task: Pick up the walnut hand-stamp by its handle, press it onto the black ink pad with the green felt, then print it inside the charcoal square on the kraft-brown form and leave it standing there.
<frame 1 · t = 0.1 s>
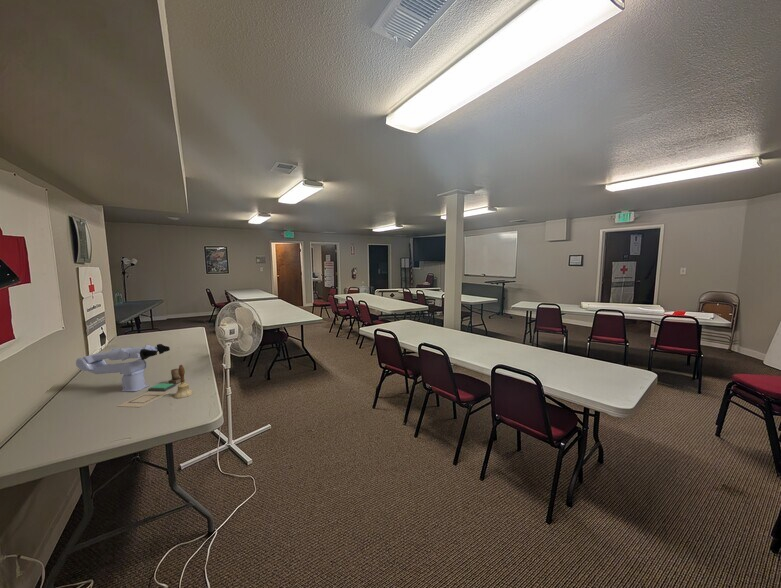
hand: (162, 350, 159), 22 cm above the table, tool horizontal, fingers open, 7 cm apart
ink pad: (162, 388, 162), on the table
hand bell: (184, 395, 153), on the table
stamp: (176, 382, 170), on the table
form: (144, 399, 149), on the table
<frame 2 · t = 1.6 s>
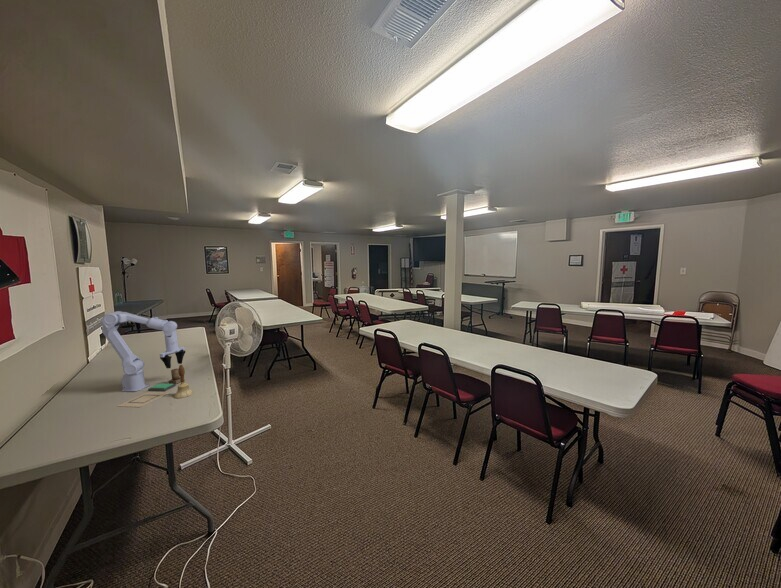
hand: (174, 365, 169), 10 cm above the table, tool pointing down, fingers open, 7 cm apart
nothing on the table moved.
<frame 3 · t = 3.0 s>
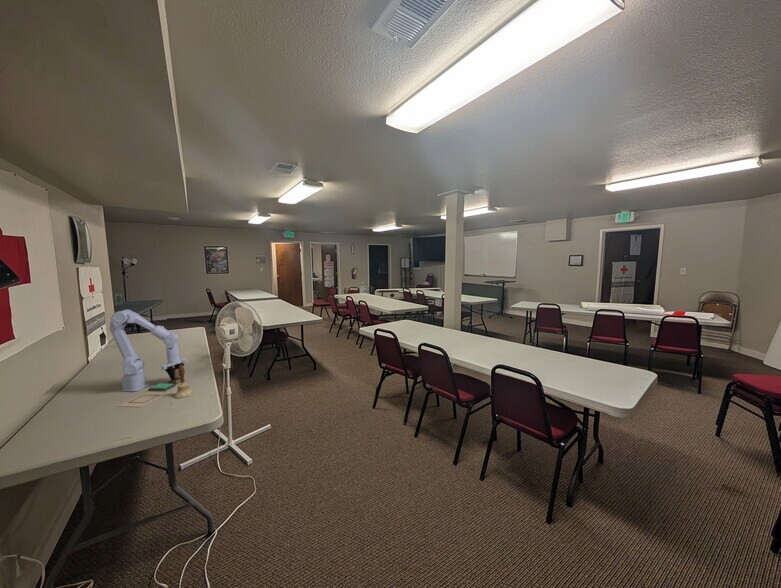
hand: (175, 377, 170), 3 cm above the table, tool pointing down, fingers closed on stamp, 4 cm apart
stamp: (176, 382, 170), on the table, touching gripper
everything else where it was.
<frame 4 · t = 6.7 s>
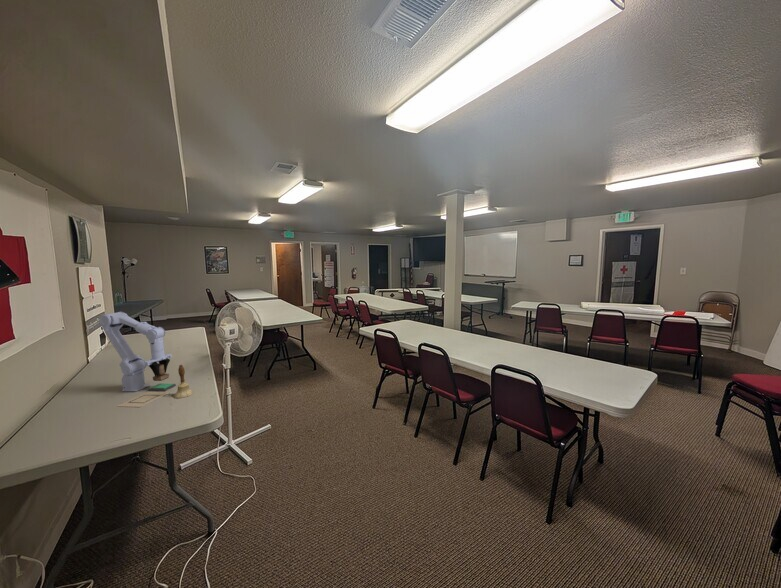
hand: (160, 374, 162), 8 cm above the table, tool pointing down, fingers closed on stamp, 4 cm apart
stamp: (161, 379, 162), point 5 cm above the table, touching gripper
everything else where it was.
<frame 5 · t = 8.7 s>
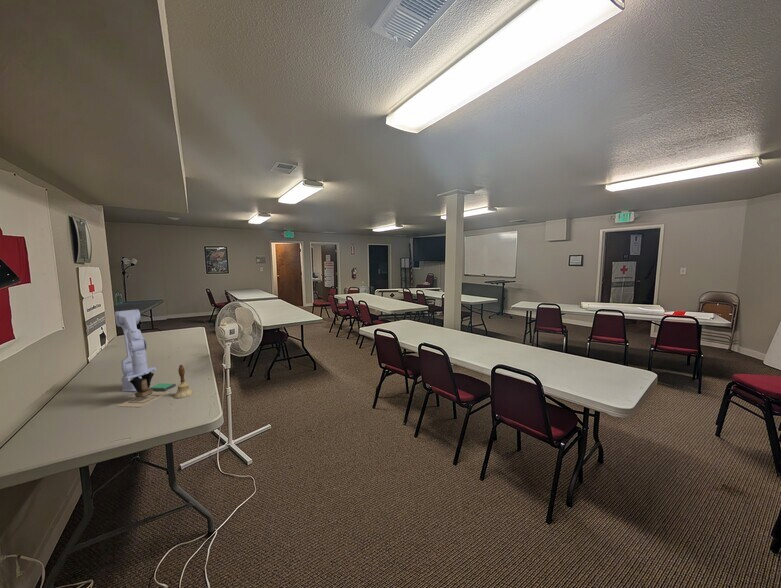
hand: (143, 389, 149), 5 cm above the table, tool pointing down, fingers closed on stamp, 4 cm apart
stamp: (144, 395, 149), point 2 cm above the table, touching gripper
everything else where it was.
when the fingers open (4 cm above the table, at t = 10.4 s): stamp stays where it is, resting on form.
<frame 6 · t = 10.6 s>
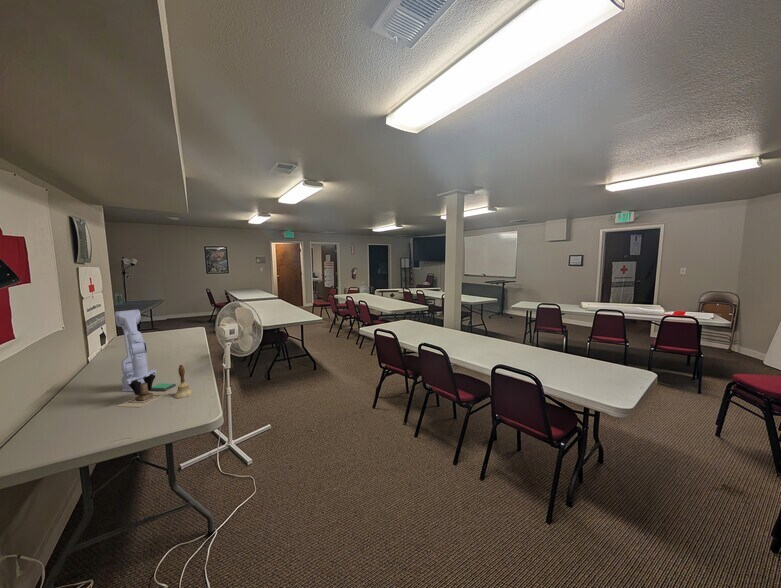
hand: (143, 392, 149), 4 cm above the table, tool pointing down, fingers open, 5 cm apart
stamp: (144, 398, 149), resting on form
everything else where it was.
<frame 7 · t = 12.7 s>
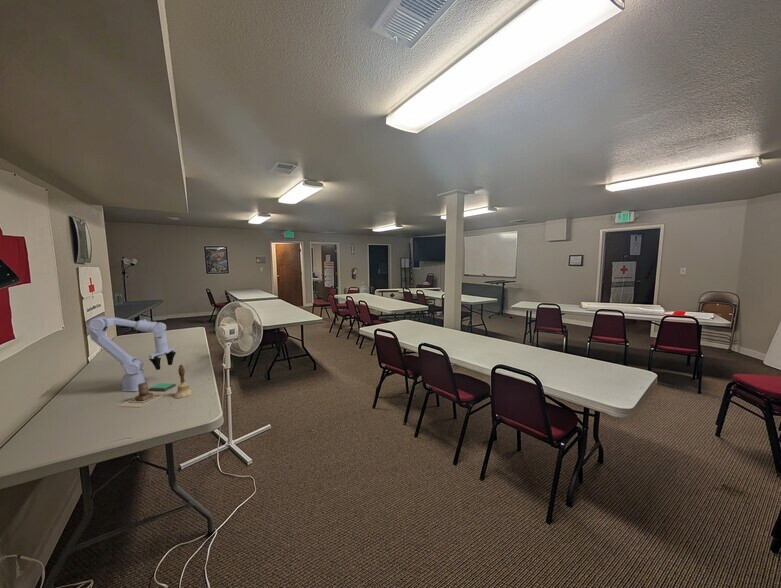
hand: (164, 367, 169), 10 cm above the table, tool pointing down, fingers open, 7 cm apart
nothing on the table moved.
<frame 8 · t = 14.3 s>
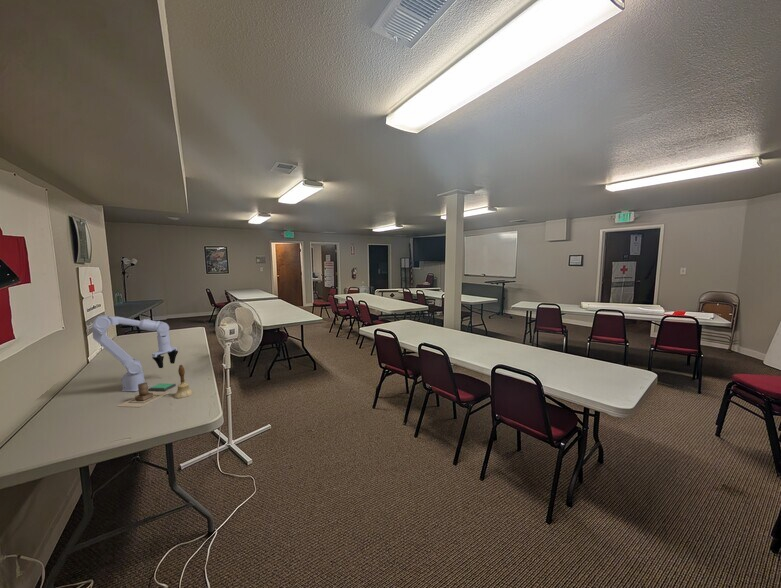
hand: (166, 365, 172), 9 cm above the table, tool pointing down, fingers open, 7 cm apart
nothing on the table moved.
at the end: stamp 0.1 cm off-centre on the form, point 0.2 cm above the form's base; stamp tilted 0°; the gripper is holding nothing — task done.
